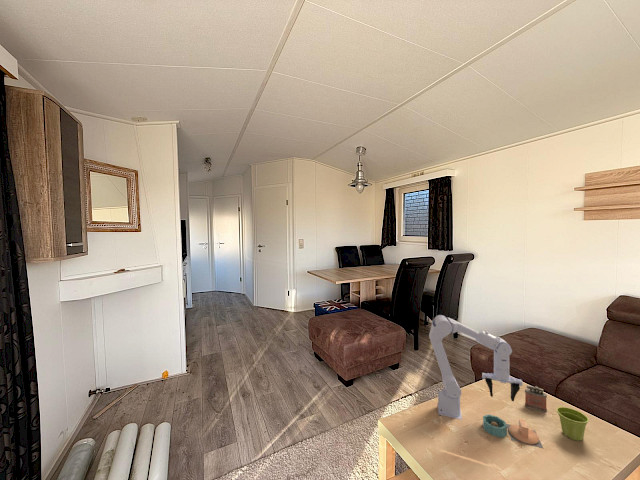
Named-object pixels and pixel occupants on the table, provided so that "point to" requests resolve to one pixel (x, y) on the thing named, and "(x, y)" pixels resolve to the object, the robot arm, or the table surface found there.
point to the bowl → (494, 430)
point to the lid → (523, 433)
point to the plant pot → (572, 423)
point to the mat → (522, 442)
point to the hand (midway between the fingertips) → (501, 397)
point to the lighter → (535, 398)
